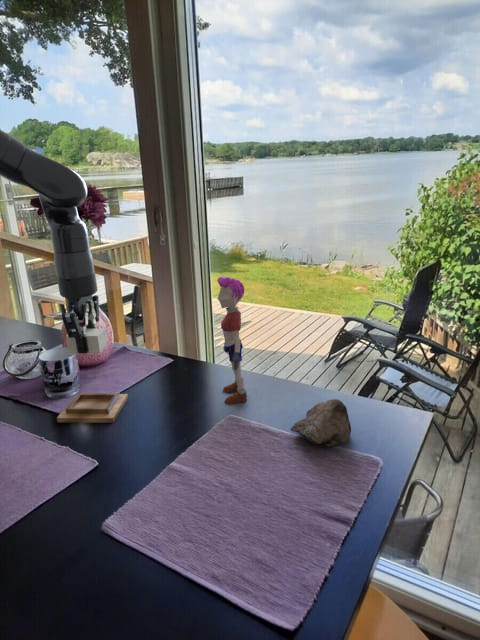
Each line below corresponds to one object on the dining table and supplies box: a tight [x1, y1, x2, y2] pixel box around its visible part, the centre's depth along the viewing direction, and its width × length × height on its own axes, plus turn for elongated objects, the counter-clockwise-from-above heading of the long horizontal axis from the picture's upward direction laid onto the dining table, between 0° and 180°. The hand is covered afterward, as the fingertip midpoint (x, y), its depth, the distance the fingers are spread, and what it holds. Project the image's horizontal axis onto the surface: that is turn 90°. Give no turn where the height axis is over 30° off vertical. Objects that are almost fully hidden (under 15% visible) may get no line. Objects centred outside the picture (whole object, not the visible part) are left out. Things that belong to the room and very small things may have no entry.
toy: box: [217, 276, 248, 405], centre depth 104 cm, size 16×6×30 cm, turn 6°
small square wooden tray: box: [56, 392, 129, 424], centre depth 104 cm, size 13×11×2 cm
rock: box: [290, 399, 352, 448], centre depth 90 cm, size 13×12×10 cm
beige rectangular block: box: [65, 327, 108, 354], centre depth 96 cm, size 7×4×4 cm, turn 86°
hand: (87, 347), depth 97 cm, fingers closed on beige rectangular block, 4 cm apart
